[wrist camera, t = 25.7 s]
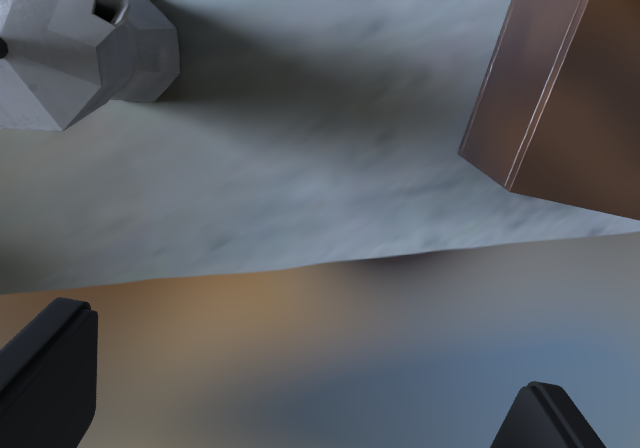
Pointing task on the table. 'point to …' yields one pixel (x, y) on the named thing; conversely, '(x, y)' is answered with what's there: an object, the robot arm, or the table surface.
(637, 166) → the lid
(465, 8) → the table surface
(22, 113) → the coffeepot
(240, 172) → the table surface
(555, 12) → the chest
